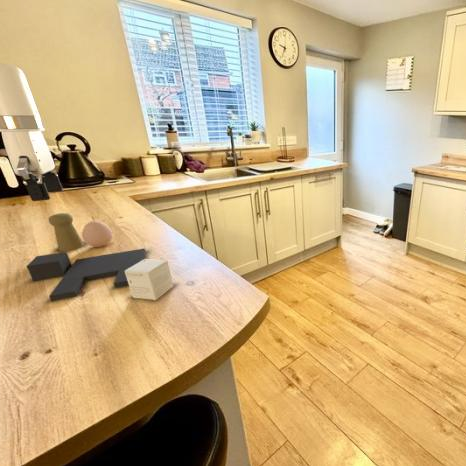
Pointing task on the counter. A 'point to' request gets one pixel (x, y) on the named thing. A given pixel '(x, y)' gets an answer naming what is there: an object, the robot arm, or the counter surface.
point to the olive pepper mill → (65, 232)
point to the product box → (149, 279)
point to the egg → (97, 234)
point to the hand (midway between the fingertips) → (48, 195)
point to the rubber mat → (96, 272)
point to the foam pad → (49, 266)
